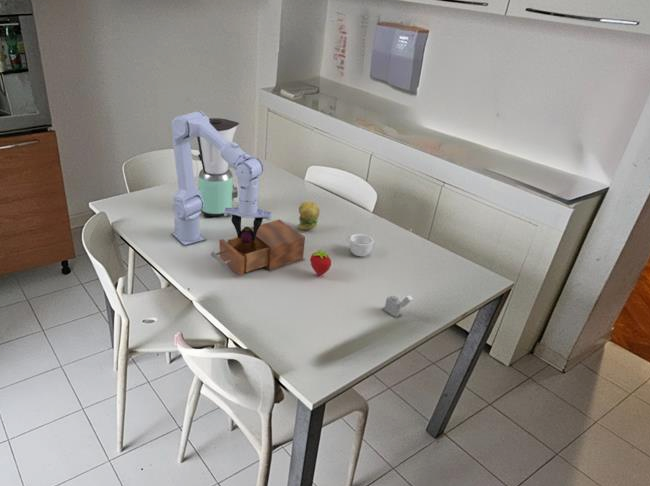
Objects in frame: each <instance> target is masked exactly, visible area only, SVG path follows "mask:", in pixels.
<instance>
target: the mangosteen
mask: <svg viewBox="0 0 650 486" xmlns="http://www.w3.org/2000/svg"><path fill="white" fill-rule="evenodd" d="M250 228H251V227H249V226H244V227H243V228H242V229H241V232H240V238H241V239H242V240H243V243H250V242H251V240H252V239H253V231H252V230H251V229H250Z"/></svg>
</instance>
